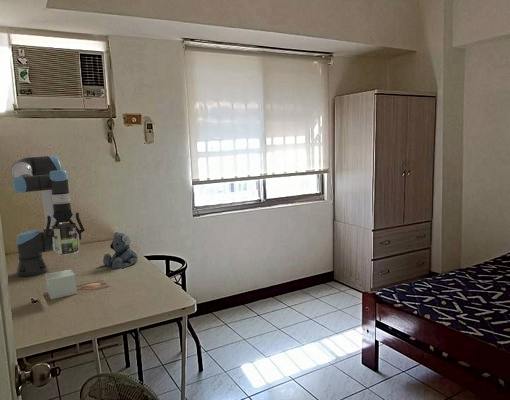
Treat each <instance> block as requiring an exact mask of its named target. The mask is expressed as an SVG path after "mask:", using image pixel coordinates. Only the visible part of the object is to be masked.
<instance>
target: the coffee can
mask: <svg viewBox="0 0 510 400" xmlns="http://www.w3.org/2000/svg"><path fill="white" fill-rule="evenodd" d="M73 223H74V224H70V222H63V223H62V224H58V226H54V225H53V226H52V228H53V230H54V234H53V236H54V240H55V249H56V251H54V252H55V256H57V257H62V256H63V257H64V256H72V255H75V254H78V253H79V247H78V243H77V233H78V232H77V231H76V226H77V224H76V222H73Z"/></svg>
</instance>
